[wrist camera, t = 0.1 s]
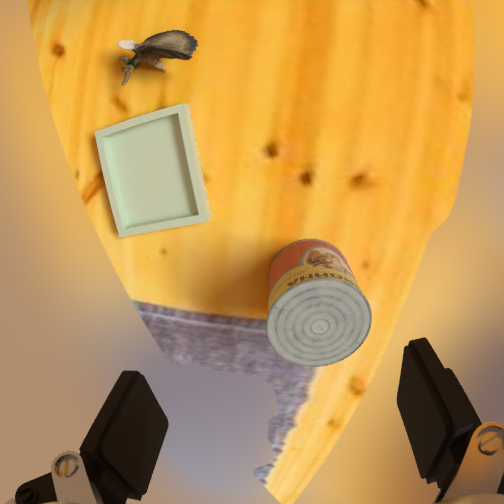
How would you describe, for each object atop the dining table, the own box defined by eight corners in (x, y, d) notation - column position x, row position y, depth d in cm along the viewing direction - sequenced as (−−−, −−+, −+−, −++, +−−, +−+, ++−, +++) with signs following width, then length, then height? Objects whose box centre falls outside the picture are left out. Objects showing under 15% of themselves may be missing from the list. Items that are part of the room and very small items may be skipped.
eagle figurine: (141, 101, 34) (202, 71, 31) (104, 73, 28) (168, 33, 24) (146, 64, 36) (201, 35, 33) (114, 36, 29) (172, 1, 26)
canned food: (360, 250, 40) (388, 291, 29) (333, 318, 44) (348, 372, 33) (280, 229, 40) (282, 267, 29) (260, 303, 44) (255, 357, 33)
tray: (102, 131, 37) (94, 132, 35) (189, 104, 35) (184, 103, 33) (126, 232, 42) (119, 237, 40) (211, 217, 40) (208, 221, 38)
